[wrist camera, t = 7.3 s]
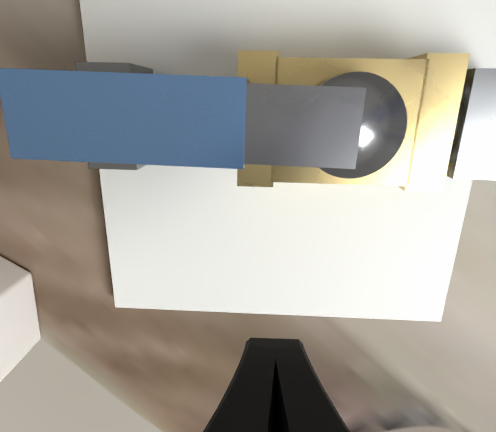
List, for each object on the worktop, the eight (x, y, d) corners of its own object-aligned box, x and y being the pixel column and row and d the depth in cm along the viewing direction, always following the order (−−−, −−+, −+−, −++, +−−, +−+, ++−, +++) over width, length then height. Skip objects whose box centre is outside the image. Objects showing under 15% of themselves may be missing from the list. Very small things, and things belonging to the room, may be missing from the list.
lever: (404, 75, 12) (430, 71, 10) (387, 174, 13) (408, 188, 11) (35, 61, 12) (-8, 54, 10) (49, 159, 13) (12, 169, 12)
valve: (498, 64, 15) (571, 54, 12) (473, 174, 17) (530, 196, 13) (86, 58, 16) (33, 46, 12) (98, 164, 17) (55, 182, 14)
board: (523, -102, 14) (538, -113, 13) (434, 313, 20) (440, 321, 19) (77, -100, 15) (66, -111, 14) (120, 299, 21) (115, 307, 20)
